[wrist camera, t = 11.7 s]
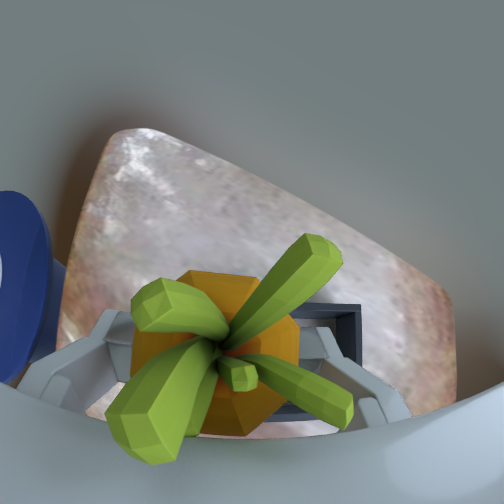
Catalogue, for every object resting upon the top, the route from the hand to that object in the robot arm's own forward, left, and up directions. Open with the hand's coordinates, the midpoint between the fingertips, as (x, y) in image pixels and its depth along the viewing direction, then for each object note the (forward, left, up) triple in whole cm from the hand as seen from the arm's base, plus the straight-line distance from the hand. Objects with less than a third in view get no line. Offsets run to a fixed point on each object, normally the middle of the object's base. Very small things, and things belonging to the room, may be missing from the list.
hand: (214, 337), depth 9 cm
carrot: (0, -1, -9) cm, 9 cm away
